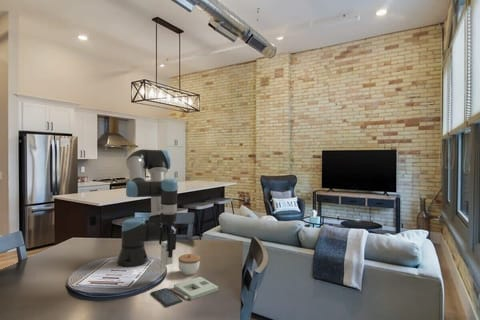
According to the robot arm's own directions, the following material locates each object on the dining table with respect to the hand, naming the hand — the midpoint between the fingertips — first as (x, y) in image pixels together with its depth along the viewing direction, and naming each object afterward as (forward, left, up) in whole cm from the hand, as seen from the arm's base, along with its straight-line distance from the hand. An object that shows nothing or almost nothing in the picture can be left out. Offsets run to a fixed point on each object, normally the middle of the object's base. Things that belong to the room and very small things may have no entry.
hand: (166, 262), depth 137 cm
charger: (0, 0, -1) cm, 1 cm away
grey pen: (+16, -3, -8) cm, 18 cm away
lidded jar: (0, +13, -9) cm, 15 cm away
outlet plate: (+17, +6, -8) cm, 20 cm away
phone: (+16, -8, -9) cm, 20 cm away
